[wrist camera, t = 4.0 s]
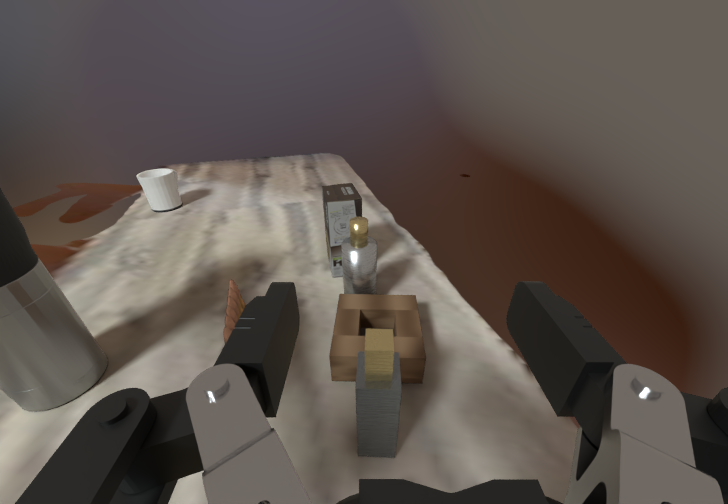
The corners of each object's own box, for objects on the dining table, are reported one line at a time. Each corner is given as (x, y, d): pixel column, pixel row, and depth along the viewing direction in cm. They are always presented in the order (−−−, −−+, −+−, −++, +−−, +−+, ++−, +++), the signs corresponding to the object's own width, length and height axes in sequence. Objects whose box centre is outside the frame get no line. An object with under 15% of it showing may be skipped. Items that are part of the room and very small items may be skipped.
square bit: (358, 456, 33) (354, 357, 24) (359, 419, 36) (357, 321, 27) (395, 457, 32) (404, 359, 24) (393, 420, 36) (401, 322, 27)
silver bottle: (343, 312, 51) (338, 229, 43) (346, 291, 56) (342, 212, 48) (375, 312, 51) (377, 229, 43) (376, 291, 56) (377, 213, 48)
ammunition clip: (243, 339, 47) (224, 276, 40) (255, 336, 47) (238, 274, 41) (240, 402, 38) (215, 335, 32) (256, 397, 38) (234, 331, 32)
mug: (165, 214, 86) (151, 179, 80) (143, 210, 89) (128, 176, 83) (196, 201, 95) (185, 168, 89) (175, 197, 97) (163, 165, 92)
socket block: (331, 380, 40) (329, 355, 38) (341, 317, 50) (339, 293, 48) (422, 383, 40) (425, 358, 37) (413, 318, 50) (415, 295, 47)
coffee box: (363, 273, 61) (362, 198, 52) (331, 278, 60) (325, 202, 51) (355, 250, 68) (353, 182, 60) (326, 254, 67) (320, 184, 59)
